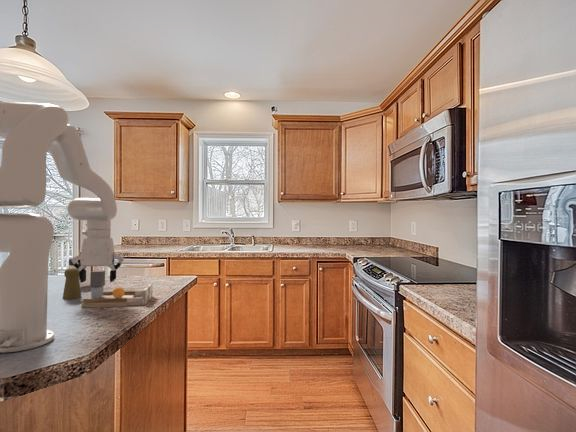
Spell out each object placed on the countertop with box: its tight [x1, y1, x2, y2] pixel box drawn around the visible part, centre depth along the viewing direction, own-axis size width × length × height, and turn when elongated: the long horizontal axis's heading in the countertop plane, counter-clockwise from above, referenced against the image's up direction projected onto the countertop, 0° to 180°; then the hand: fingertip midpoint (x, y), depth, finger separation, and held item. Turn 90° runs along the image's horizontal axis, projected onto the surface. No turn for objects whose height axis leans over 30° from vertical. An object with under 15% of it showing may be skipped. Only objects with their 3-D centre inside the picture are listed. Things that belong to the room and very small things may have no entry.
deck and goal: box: [81, 283, 153, 308], centre depth 122 cm, size 14×20×5 cm
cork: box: [62, 268, 82, 300], centre depth 126 cm, size 6×6×11 cm
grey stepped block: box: [89, 270, 106, 299], centre depth 120 cm, size 7×4×9 cm, turn 11°
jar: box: [67, 257, 92, 288], centre depth 146 cm, size 9×8×12 cm
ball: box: [112, 286, 126, 298], centre depth 122 cm, size 4×4×4 cm
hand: (97, 281), depth 120 cm, fingers open, 9 cm apart
